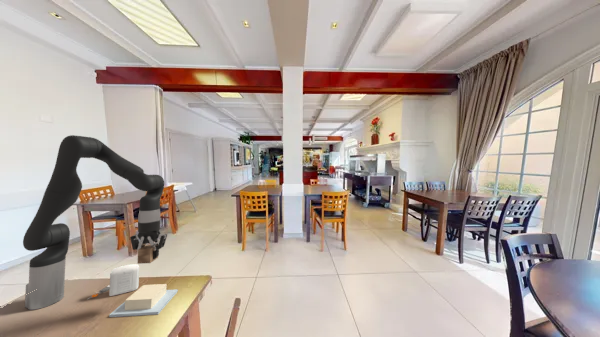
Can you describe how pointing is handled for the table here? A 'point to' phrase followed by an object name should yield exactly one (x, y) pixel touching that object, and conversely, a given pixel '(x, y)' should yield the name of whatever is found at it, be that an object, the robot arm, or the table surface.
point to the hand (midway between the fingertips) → (148, 258)
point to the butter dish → (145, 301)
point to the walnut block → (145, 254)
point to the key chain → (101, 291)
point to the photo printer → (124, 279)
